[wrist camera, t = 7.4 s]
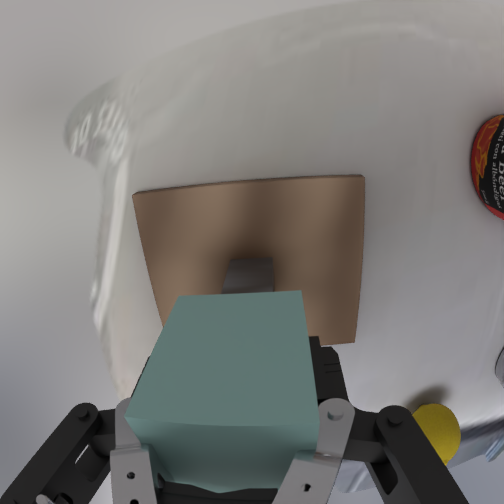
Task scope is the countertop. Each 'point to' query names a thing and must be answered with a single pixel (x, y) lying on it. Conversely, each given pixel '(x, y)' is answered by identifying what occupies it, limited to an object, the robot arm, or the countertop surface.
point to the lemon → (439, 429)
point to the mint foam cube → (229, 390)
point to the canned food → (490, 165)
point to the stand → (260, 244)
